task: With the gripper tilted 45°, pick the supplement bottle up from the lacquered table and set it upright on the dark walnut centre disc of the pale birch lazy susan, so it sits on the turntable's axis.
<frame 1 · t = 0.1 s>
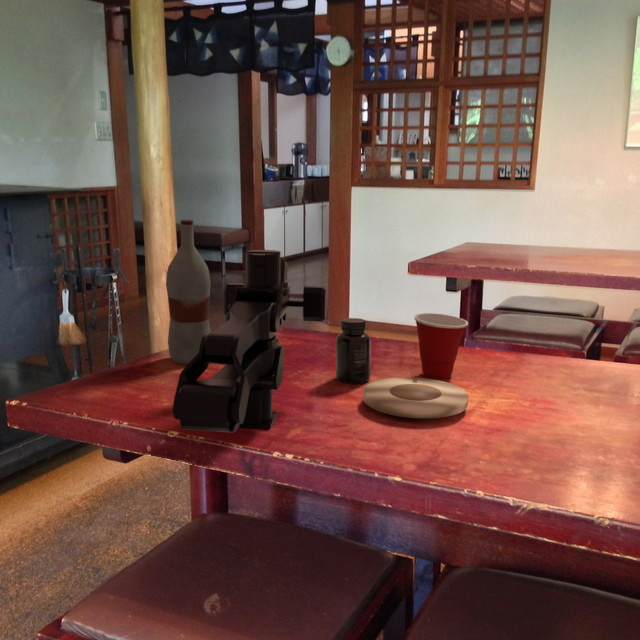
hand: (283, 294, 130), 17 cm above the table, tool horizontal, fingers open, 9 cm apart
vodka: (190, 360, 145), on the table
turntable: (415, 396, 117), point 2 cm above the table, hinge at 0.0°
sauce bottle: (259, 346, 158), on the table
plastic cup: (438, 376, 136), on the table
supplement bottle: (352, 380, 132), on the table
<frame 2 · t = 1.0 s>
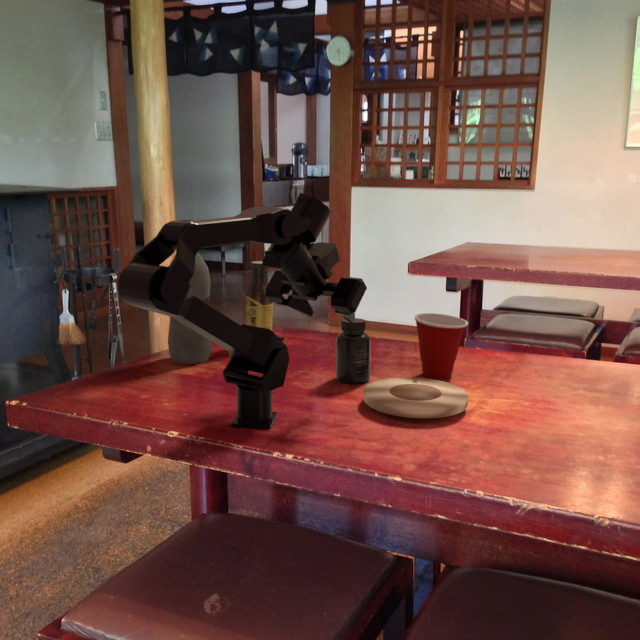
hand: (332, 317, 123), 14 cm above the table, tool tilted 45°, fingers open, 9 cm apart
nothing on the table moved.
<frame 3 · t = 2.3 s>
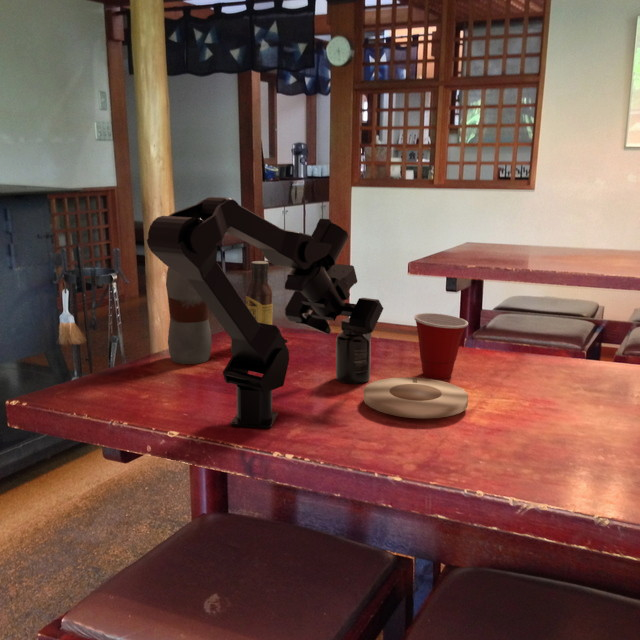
hand: (349, 335, 129), 9 cm above the table, tool tilted 45°, fingers open, 9 cm apart
nothing on the table moved.
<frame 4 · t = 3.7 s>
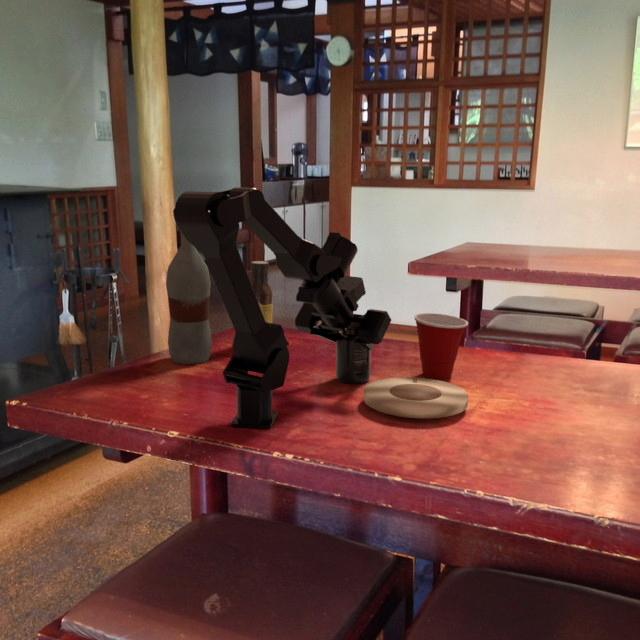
hand: (357, 345, 132), 7 cm above the table, tool tilted 45°, fingers closed on supplement bottle, 7 cm apart
supplement bottle: (352, 380, 132), on the table, touching gripper
everything else where it was.
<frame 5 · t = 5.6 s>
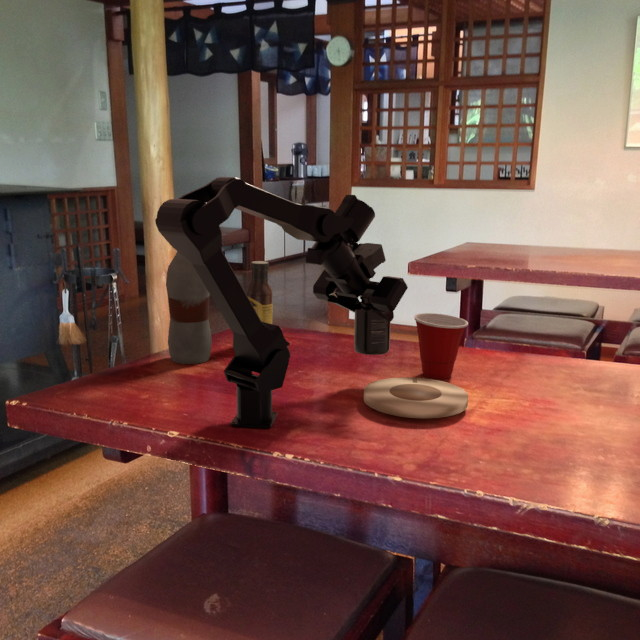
hand: (377, 316, 127), 13 cm above the table, tool tilted 45°, fingers closed on supplement bottle, 7 cm apart
supplement bottle: (371, 352, 128), point 6 cm above the table, touching gripper
everything else where it was.
when the fingers open (10 cm above the table, at t = 7.8 s): supplement bottle drops 1 cm, resting on turntable.
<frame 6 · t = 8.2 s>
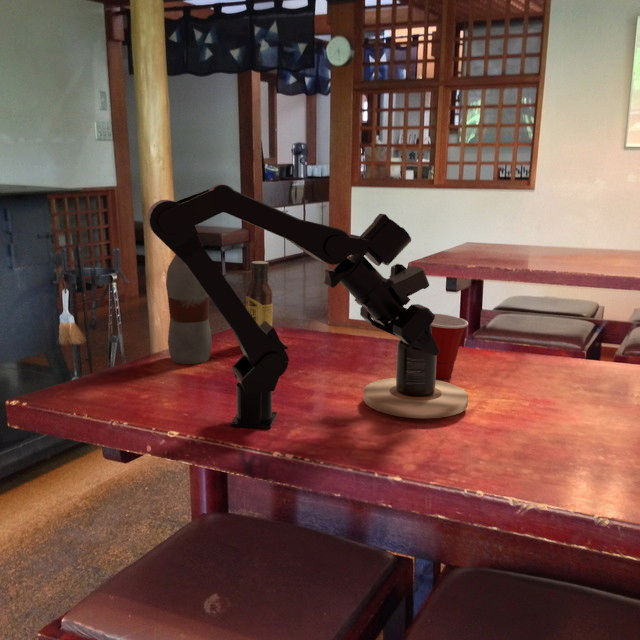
hand: (424, 346, 115), 11 cm above the table, tool tilted 45°, fingers open, 9 cm apart
turntable: (415, 396, 117), point 2 cm above the table, hinge at 0.0°, touching supplement bottle
supplement bottle: (415, 392, 117), point 2 cm above the table, touching turntable
everything else where it was.
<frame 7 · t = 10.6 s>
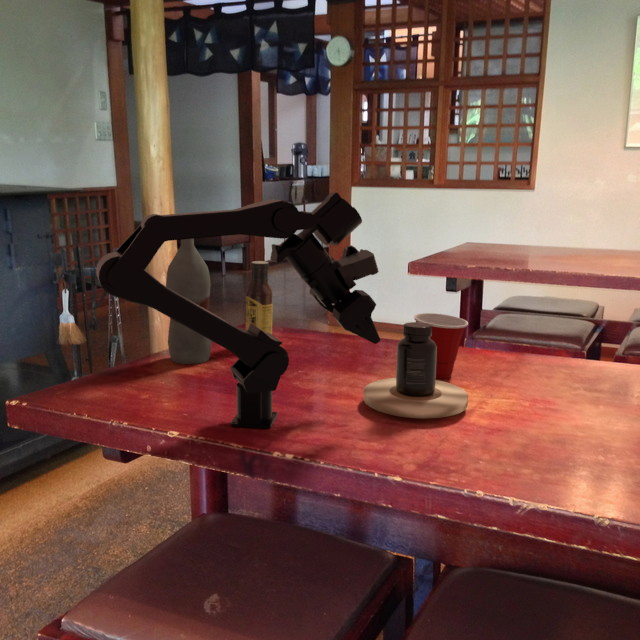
hand: (368, 333, 113), 13 cm above the table, tool tilted 40°, fingers open, 9 cm apart
nothing on the table moved.
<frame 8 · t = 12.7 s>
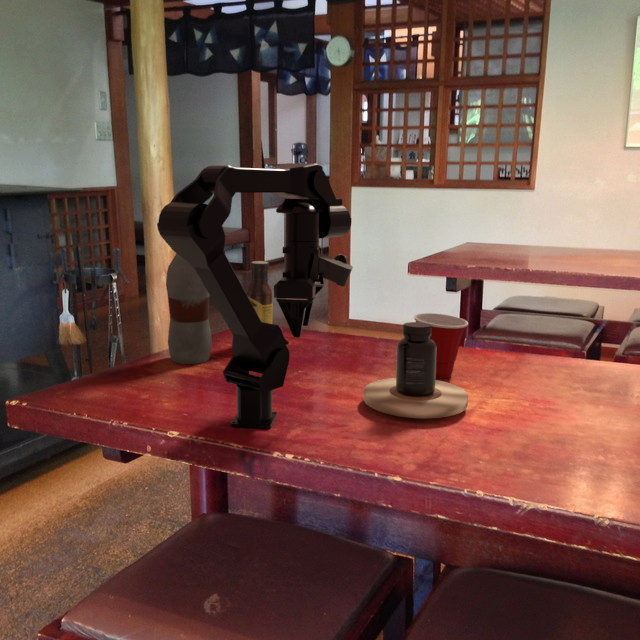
hand: (301, 331, 115), 13 cm above the table, tool pointing down, fingers open, 9 cm apart
nothing on the table moved.
at the end: supplement bottle 0.2 cm off-centre on the turntable, point 2.4 cm above the turntable's base; supplement bottle tilted 1°; the gripper is holding nothing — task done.
